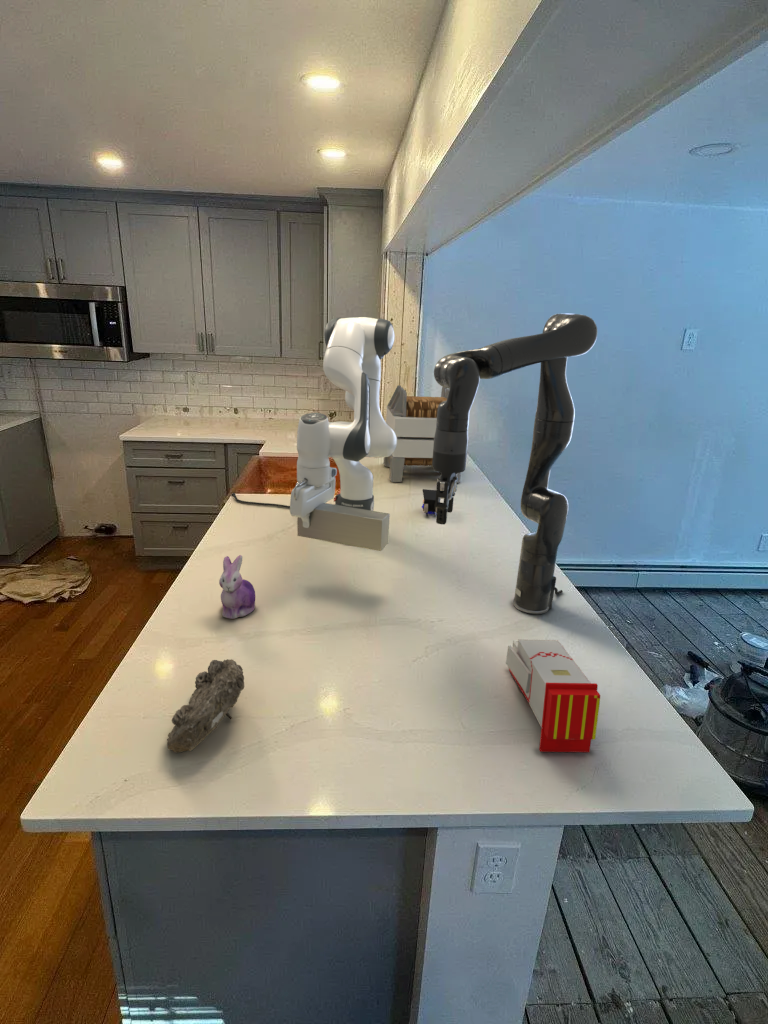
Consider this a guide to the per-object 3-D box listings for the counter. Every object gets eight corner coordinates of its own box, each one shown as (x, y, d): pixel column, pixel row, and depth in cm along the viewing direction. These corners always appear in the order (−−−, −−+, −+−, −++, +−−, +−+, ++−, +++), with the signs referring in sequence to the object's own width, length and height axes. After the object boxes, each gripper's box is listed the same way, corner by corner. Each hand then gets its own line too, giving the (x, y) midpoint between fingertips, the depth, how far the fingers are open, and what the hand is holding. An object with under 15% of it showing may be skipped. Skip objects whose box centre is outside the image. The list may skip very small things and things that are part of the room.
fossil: (192, 660, 117) (244, 628, 112) (224, 691, 120) (276, 661, 115) (142, 746, 98) (202, 712, 93) (182, 779, 101) (242, 748, 96)
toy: (554, 622, 128) (610, 691, 98) (548, 677, 130) (601, 759, 101) (501, 621, 127) (541, 690, 98) (496, 676, 130) (534, 758, 101)
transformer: (382, 463, 289) (386, 382, 275) (445, 464, 293) (451, 384, 279) (390, 482, 257) (394, 392, 243) (460, 483, 261) (468, 394, 247)
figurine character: (440, 522, 216) (436, 505, 230) (442, 504, 213) (438, 488, 226) (422, 521, 216) (419, 504, 229) (424, 503, 213) (421, 487, 226)
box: (297, 535, 157) (297, 506, 154) (307, 529, 162) (307, 500, 159) (380, 551, 149) (382, 520, 146) (388, 543, 154) (389, 513, 152)
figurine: (224, 623, 139) (221, 568, 134) (215, 604, 148) (212, 552, 142) (262, 616, 143) (260, 562, 138) (251, 598, 152) (249, 546, 147)
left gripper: (305, 486, 143) (305, 537, 147) (339, 467, 161) (338, 513, 165) (283, 482, 145) (284, 533, 149) (319, 465, 163) (319, 510, 167)
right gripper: (462, 458, 118) (455, 530, 124) (471, 444, 131) (465, 510, 137) (427, 454, 120) (422, 525, 126) (439, 440, 133) (434, 506, 138)
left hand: (313, 522), depth 157 cm, fingers closed on box, 6 cm apart
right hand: (444, 517), depth 131 cm, fingers open, 8 cm apart
